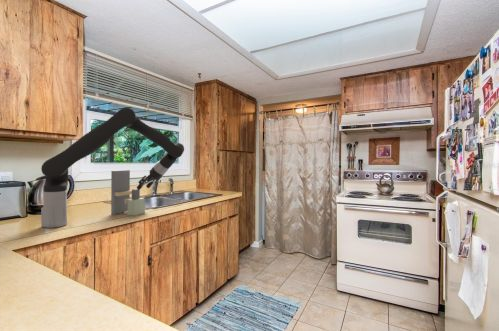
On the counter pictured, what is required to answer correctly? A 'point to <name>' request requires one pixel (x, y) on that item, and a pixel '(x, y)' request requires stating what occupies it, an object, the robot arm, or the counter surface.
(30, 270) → the counter surface
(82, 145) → the robot arm
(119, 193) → the wall board
